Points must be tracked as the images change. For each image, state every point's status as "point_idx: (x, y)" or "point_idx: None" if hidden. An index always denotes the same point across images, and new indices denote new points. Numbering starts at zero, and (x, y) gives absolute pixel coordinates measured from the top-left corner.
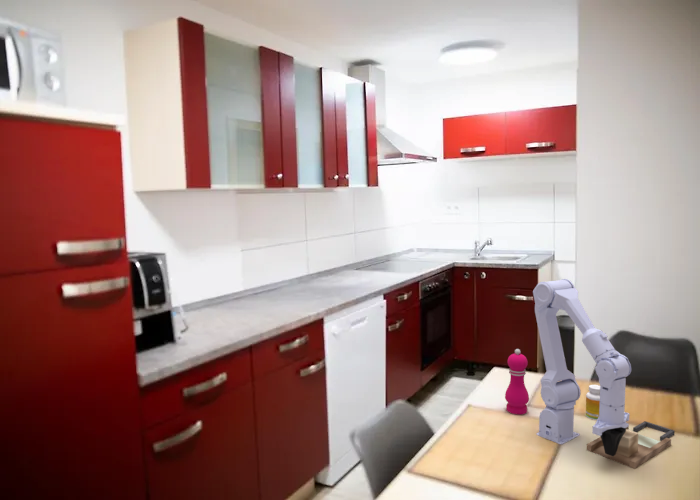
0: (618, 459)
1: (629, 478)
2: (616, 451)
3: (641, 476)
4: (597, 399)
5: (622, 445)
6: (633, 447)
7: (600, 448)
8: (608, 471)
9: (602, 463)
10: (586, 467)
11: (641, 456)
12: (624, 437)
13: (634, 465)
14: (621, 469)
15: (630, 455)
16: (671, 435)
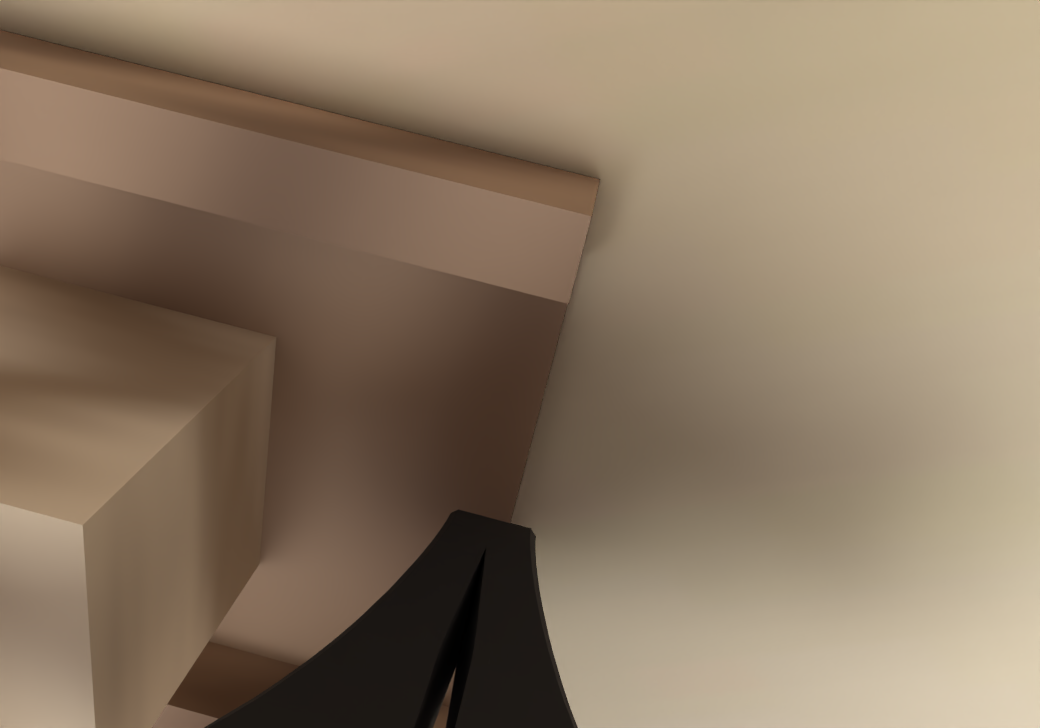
0: (447, 433)
1: (950, 184)
2: (452, 538)
3: (760, 29)
4: None
5: (192, 504)
6: (51, 344)
7: (298, 643)
8: (863, 471)
9: (658, 563)
10: (893, 686)
11: (255, 163)
12: (91, 594)
13: (592, 202)
14: (690, 342)
15: (207, 323)
16: None
